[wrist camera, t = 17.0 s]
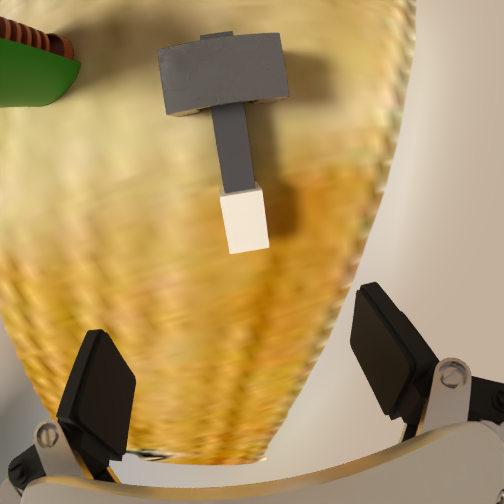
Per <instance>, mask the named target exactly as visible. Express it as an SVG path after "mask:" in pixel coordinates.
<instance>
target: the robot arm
mask: <svg viewBox="0 0 504 504" xmlns="http://www.w3.org/2000/svg"><path fill="white" fill-rule="evenodd" d="M350 345H351V348H352V350H353V352H354V354H355V356H356V358H357V360H358V362H359V364H360V366H361V368H362V370H363V372H364V374H365V376H366V378H367V380H368V382H369V384H370V386H371V388H372V390H373V392H374V394H375V396H376V398H377V400H378V402H379V405H380V407H381V409H382V411H383V413H384V414H385V415H389V416H390V418H391V420H394V419H396V418H399V417H402V419H403V421H404V423H405V425H404V428H403V431H402V434H401V437H400V440H399V443H398V444H397V445H395V446H392V447H390V448H387V449H385V450H382V451H379V452H377V453H374V454H371V455H369V456H366V457H363V458H360V459H357V460H354V461H351V462H348V463H346V464H342V465H339V466H335V467H332V468H328V469H325V470H321V471H317V472H313V473H309V474H305V475H300V476H296V477H291V478H286V479H281V480H275V481H269V482H262V483H256V484H247V485H238V486H226V487H209V488H165V487H164V488H163V487H148V486H137V485H128V484H122V483H121V482H120V481H119V479H118V478H117V476H116V475H115V474H114V472H113V470H112V469H111V468H110V466H109V460H114V461H122V455H124V454H125V453H126V447H127V438H128V431H129V424H130V417H131V410H132V404H133V398H134V392H135V386H136V379H135V376H134V374H133V373H132V371H131V370H130V368H129V367H128V365H127V364H126V362H125V361H124V359H123V357H122V356H121V354H120V353H119V351H118V349H117V348H116V346H115V344H114V343H113V341H112V339H111V338H110V336H109V334H108V333H105V332H104V331H103V330H102V329H97V330H89V331H88V332H87V333H86V335H85V338H84V340H83V343H82V345H81V347H80V350H79V352H78V355H77V357H76V360H75V363H74V365H73V368H72V370H71V373H70V376H69V379H68V381H67V384H66V387H65V390H64V393H63V396H62V399H61V402H60V405H59V408H58V412H57V415H56V417H57V418H58V421H57V422H56V421H55V420H52V419H50V420H49V419H48V420H45V421H42V422H41V423H40V424H39V425H38V426H37V428H36V430H35V432H34V443H35V444H34V445H33V446H31V447H30V448H28V449H27V450H26V451H25V452H23V453H22V454H20V455H19V456H17V457H16V458H14V459H13V460H12V461H11V463H10V465H9V468H8V476H9V479H8V478H7V477H6V478H5V480H4V481H3V482H2V484H1V485H0V504H504V383H499V382H494V381H490V380H486V379H482V378H478V377H474V376H471V371H470V369H469V367H468V366H467V365H466V363H465V362H463V361H461V360H460V359H457V358H446V359H443V360H442V361H439V360H438V358H437V357H436V356H435V354H434V353H433V351H432V350H431V348H430V347H429V346H428V344H427V343H426V342H425V340H424V339H423V338H422V336H421V335H420V334H419V332H418V331H417V330H416V328H415V327H414V326H413V324H412V323H411V322H410V321H409V319H408V318H407V317H406V315H405V314H404V313H403V312H402V311H400V310H399V309H398V308H397V307H396V306H395V304H394V303H393V302H392V300H391V299H390V298H389V297H388V295H387V294H386V293H385V292H384V290H383V289H382V288H381V287H380V285H379V284H378V283H376V282H372V283H369V284H364V285H361V287H360V290H357V292H356V299H355V307H354V316H353V323H352V330H351V337H350Z"/></svg>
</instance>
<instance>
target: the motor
mask: <svg viewBox="0 0 504 504" xmlns="http://www.w3.org/2000/svg"><path fill="white" fill-rule="evenodd" d="M73 59H74V51H73V47H72V45H71V43H70V42H69V41H68V40H67V39H65V38H63V37H61V36H58V35H56V34H52V33H50V34H45V33H44V32H41V31H39V30H36V29H34V28H31V27H28V26H26V25H24V24H21V23H17V22H15V21H12V20H7V19H6V18H4V17H0V108H2V107H40V106H45V105H48V104H50V103H52V102H54V101H55V100H57V99H58V98H59V97H60V96H62V95H63V94H64V93H65V92H66V90H67V89H68V88H69V87H70V85H71V84H72V82H73V81H74V79H75V77H76V75H77V73H78V71H79V69H80V66H81V63H79V62H76V61H73Z"/></svg>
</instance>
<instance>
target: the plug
mask: <svg viewBox="0 0 504 504" xmlns="http://www.w3.org/2000/svg"><path fill="white" fill-rule="evenodd" d="M228 36H233V31H229V32H221V33H214V34H207V35H201V36H200V38H201V40H207V39H213V38H220V37H228ZM211 112H212V119H213V125H214V131H215V138H216V144H217V150H218V156H219V162H220V168H221V174H222V180H223V186H224V187H220V202H221V207H222V213H223V218H224V224H225V229H226V235H227V240H228V245H229V251H230V254H234V253H240V252H246V251H252V250H258V249H263V248H269V241H268V233H267V224H266V216H265V208H264V200H263V192H262V189H261V187H260V186H259V184H258V183H257V182H255V181H254V173H253V166H252V159H251V152H250V145H249V138H248V131H247V124H246V117H245V110H244V103H243V102H238V103H231V104H224V105H218V106H212V107H211Z"/></svg>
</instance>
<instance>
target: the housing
mask: <svg viewBox="0 0 504 504" xmlns="http://www.w3.org/2000/svg"><path fill="white" fill-rule="evenodd" d="M157 52H158V60H159V67H160V75H161V82H162V89H163V95H164V102H165V108H166V114H167V115H170V116H176V117H179V116H184V115H188V114H193V113H198V112H200V110H199V109H201V108H206V107H212V106H218V105H224V104H231V103H238V102H246V101H252V102H253V104H258V103H268V102H276V101H279V100H281V99H284V98H287V97H289V91H288V84H287V77H286V70H285V64H284V58H283V51H282V45H281V40H280V34H279V33H261V34H247V35H237V36H228V37H220V38H213V39H207V40H201V41H195V42H190V43H185V44H180V45H176V46H171V47H167V48H163V49H159V50H157Z"/></svg>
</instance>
